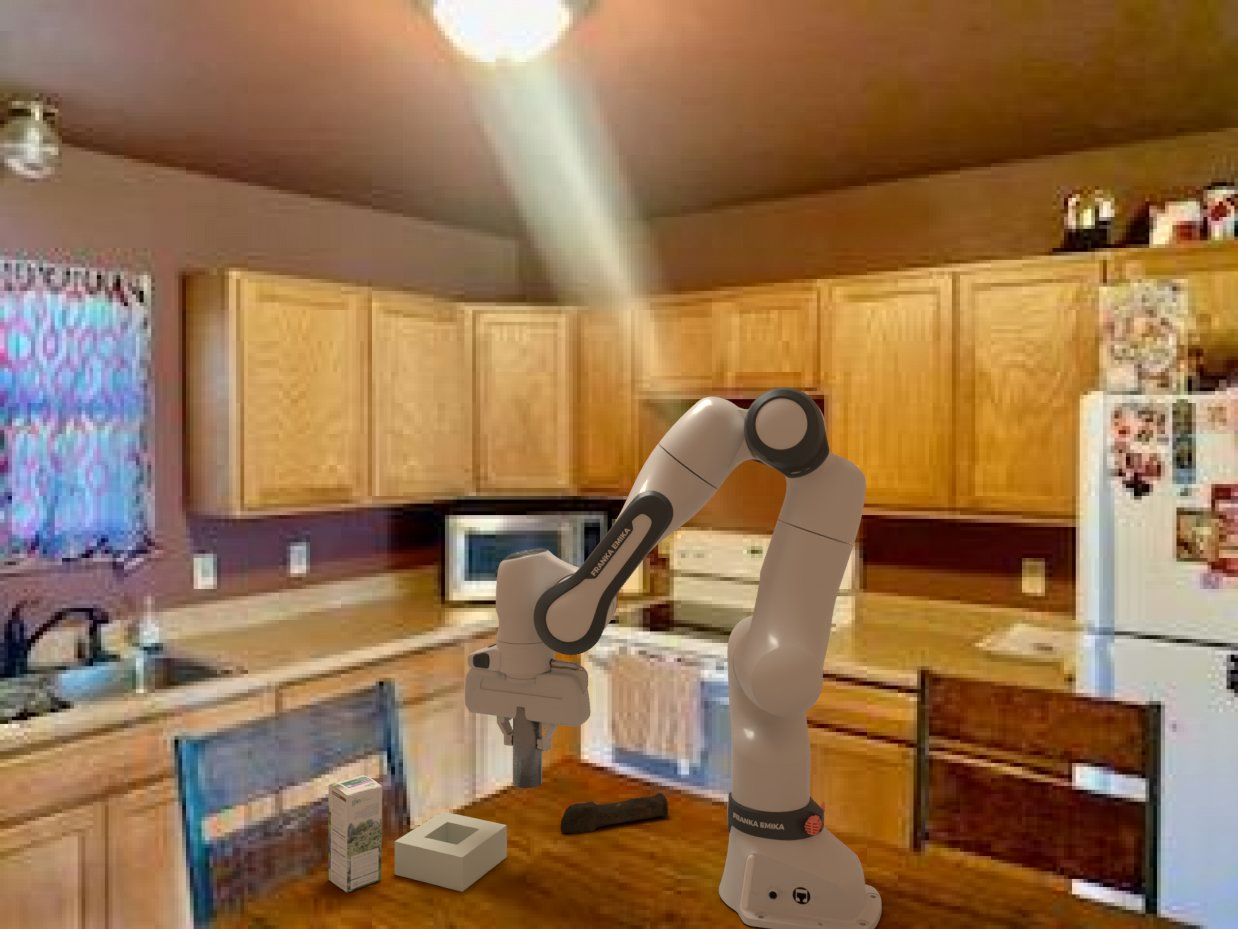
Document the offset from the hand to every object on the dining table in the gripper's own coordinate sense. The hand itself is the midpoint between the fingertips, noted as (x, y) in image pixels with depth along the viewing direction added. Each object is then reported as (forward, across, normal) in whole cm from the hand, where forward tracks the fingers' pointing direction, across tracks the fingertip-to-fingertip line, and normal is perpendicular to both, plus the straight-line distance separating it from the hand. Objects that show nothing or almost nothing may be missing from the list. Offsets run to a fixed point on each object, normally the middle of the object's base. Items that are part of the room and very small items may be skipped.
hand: (527, 747), depth 140 cm
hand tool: (+19, -6, -19) cm, 27 cm away
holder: (+18, +10, +5) cm, 21 cm away
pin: (+5, 0, 0) cm, 5 cm away
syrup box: (+18, +20, +15) cm, 31 cm away
